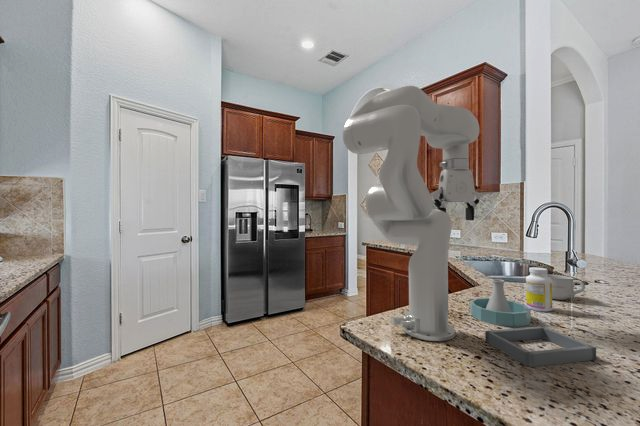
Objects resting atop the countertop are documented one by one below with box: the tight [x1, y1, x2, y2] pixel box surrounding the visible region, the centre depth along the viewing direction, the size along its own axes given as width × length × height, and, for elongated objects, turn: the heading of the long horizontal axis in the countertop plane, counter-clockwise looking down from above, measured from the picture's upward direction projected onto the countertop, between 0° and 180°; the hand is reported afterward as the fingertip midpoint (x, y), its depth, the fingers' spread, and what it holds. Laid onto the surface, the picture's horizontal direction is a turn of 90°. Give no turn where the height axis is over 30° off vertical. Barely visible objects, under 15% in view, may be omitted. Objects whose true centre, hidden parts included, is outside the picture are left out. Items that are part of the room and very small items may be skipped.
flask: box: [486, 278, 512, 313], centre depth 86 cm, size 7×7×10 cm
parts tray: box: [484, 325, 597, 368], centre depth 65 cm, size 16×12×2 cm
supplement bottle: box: [525, 266, 553, 313], centre depth 94 cm, size 7×7×13 cm
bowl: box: [469, 297, 532, 328], centre depth 86 cm, size 15×15×4 cm
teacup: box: [547, 273, 586, 301], centre depth 104 cm, size 14×11×8 cm
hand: (456, 220), depth 93 cm, fingers open, 9 cm apart
